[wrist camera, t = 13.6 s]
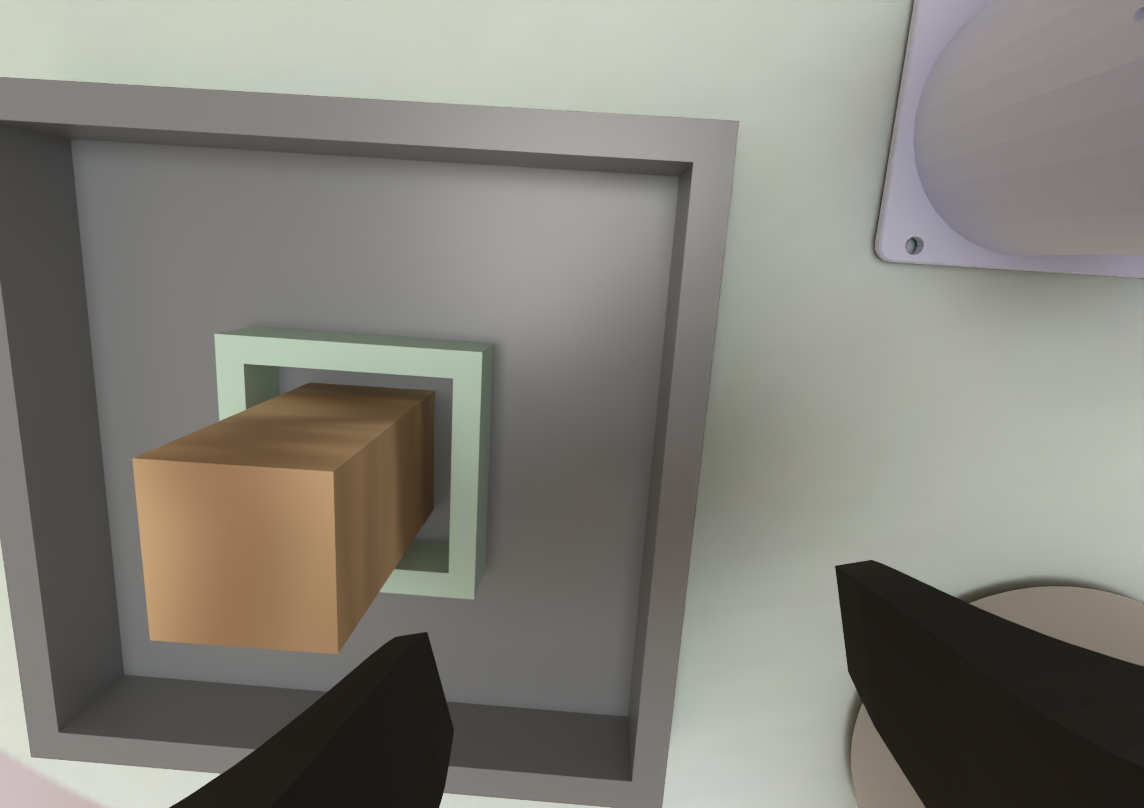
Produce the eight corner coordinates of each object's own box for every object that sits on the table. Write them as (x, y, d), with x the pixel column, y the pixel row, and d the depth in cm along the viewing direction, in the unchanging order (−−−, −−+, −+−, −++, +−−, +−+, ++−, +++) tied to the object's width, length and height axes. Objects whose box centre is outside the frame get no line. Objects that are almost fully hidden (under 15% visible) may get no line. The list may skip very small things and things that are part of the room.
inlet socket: (493, 343, 20) (482, 352, 18) (485, 568, 22) (474, 599, 20) (251, 326, 20) (214, 333, 18) (261, 551, 22) (228, 580, 20)
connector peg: (434, 390, 20) (333, 471, 13) (433, 509, 21) (337, 653, 14) (309, 382, 21) (132, 458, 13) (313, 501, 21) (150, 640, 14)
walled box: (714, 145, 19) (739, 121, 16) (652, 731, 24) (661, 811, 20) (50, 105, 20) (-66, 73, 16) (111, 686, 24) (30, 757, 21)
